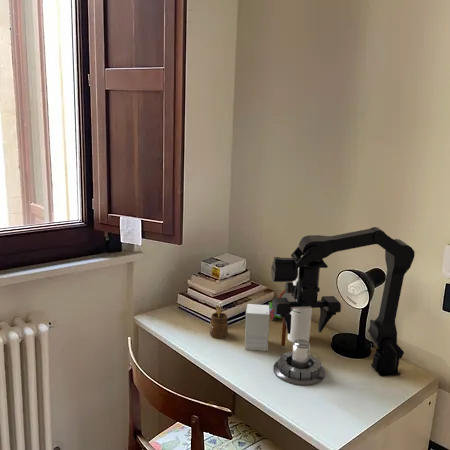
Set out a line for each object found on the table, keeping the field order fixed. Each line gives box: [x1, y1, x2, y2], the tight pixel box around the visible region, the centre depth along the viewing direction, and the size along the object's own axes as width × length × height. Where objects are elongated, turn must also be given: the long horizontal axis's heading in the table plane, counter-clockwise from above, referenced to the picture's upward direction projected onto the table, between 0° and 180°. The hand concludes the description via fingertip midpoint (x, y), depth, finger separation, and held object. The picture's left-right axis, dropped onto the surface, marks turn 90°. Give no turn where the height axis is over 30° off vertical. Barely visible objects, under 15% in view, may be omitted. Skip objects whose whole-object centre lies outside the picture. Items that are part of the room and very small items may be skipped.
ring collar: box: [272, 351, 326, 387], centre depth 150 cm, size 15×15×3 cm
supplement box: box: [244, 303, 271, 352], centre depth 163 cm, size 7×7×13 cm
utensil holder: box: [209, 301, 229, 339], centre depth 169 cm, size 6×6×12 cm
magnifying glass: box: [277, 289, 296, 349], centre depth 161 cm, size 9×2×20 cm, turn 132°
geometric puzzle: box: [266, 301, 283, 321], centre depth 184 cm, size 7×7×8 cm
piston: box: [291, 339, 311, 369], centre depth 149 cm, size 5×5×9 cm
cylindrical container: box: [287, 268, 313, 344], centre depth 167 cm, size 7×7×25 cm
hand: (304, 332), depth 147 cm, fingers open, 9 cm apart
